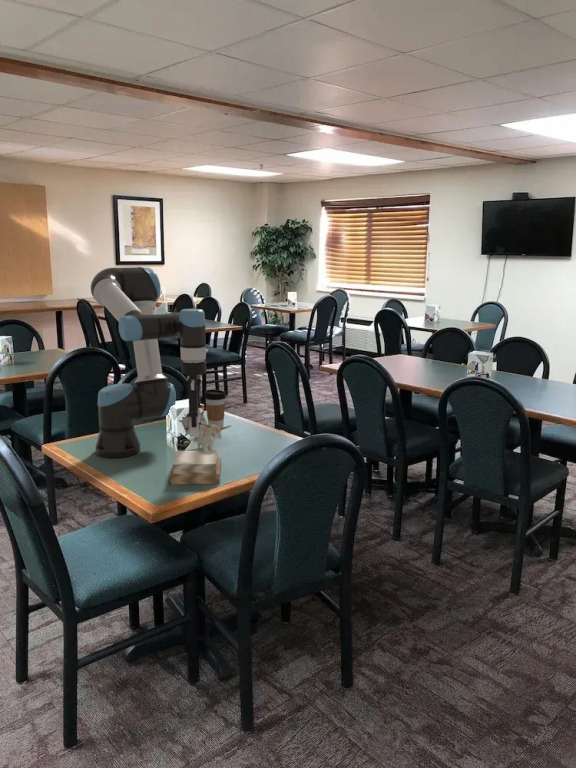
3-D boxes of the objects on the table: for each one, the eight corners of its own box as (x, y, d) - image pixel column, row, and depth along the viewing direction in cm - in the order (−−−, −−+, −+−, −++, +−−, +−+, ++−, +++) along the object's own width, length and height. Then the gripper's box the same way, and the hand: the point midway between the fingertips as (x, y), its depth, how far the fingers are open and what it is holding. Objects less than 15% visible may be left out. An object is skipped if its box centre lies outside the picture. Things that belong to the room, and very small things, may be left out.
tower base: (169, 484, 188) (169, 465, 186) (174, 467, 202) (174, 449, 201) (219, 483, 189) (219, 464, 187) (221, 466, 203) (220, 449, 202)
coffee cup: (210, 424, 252) (209, 388, 249) (229, 425, 250) (229, 389, 247) (201, 429, 245) (201, 392, 241) (222, 431, 242) (221, 394, 239)
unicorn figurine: (213, 468, 201) (212, 429, 199) (184, 453, 217) (183, 416, 214) (232, 464, 206) (231, 425, 203) (202, 449, 221) (202, 413, 218)
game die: (190, 446, 194) (181, 418, 198) (215, 437, 194) (206, 408, 198) (181, 439, 186) (172, 409, 190) (208, 428, 186) (198, 399, 190)
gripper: (204, 366, 178) (205, 442, 182) (207, 354, 198) (209, 423, 203) (177, 366, 177) (180, 443, 182) (184, 354, 198) (186, 423, 202)
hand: (195, 432), depth 192 cm, fingers closed on game die, 8 cm apart
